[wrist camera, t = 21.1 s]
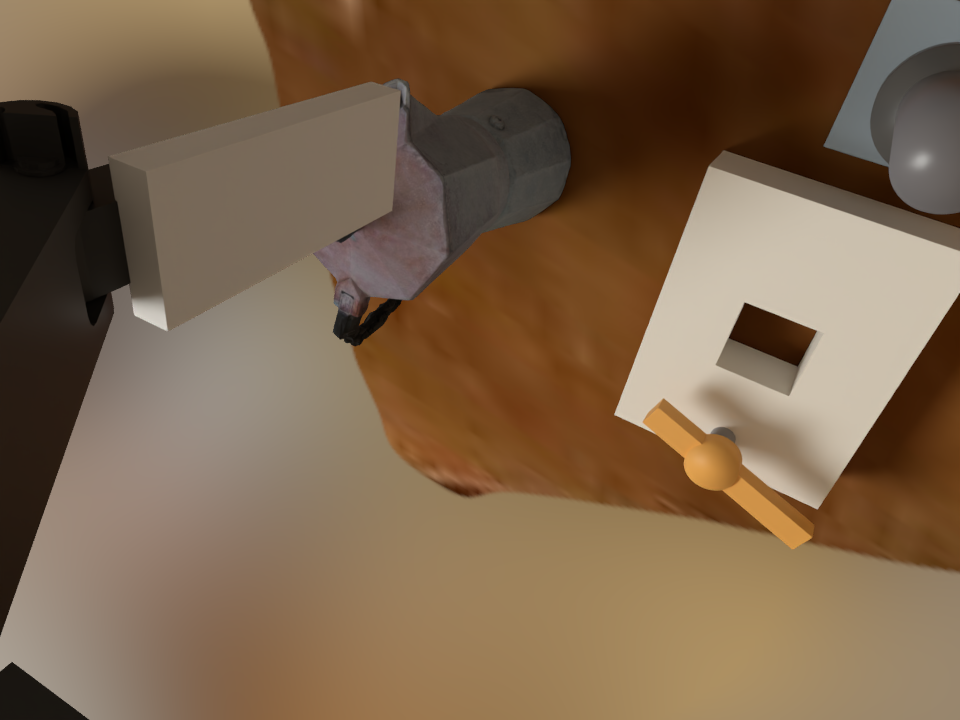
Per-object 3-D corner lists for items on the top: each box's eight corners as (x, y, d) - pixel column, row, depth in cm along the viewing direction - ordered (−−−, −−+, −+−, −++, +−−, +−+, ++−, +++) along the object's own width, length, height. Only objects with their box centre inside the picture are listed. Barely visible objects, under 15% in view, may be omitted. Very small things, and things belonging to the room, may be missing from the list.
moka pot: (610, 64, 43) (440, 126, 28) (548, 283, 52) (394, 422, 37) (473, 20, 46) (252, 56, 31) (437, 236, 55) (251, 346, 40)
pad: (898, -15, 35) (898, -14, 35) (1079, 29, 33) (1081, 30, 32) (824, 144, 40) (823, 146, 39) (978, 192, 38) (979, 195, 37)
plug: (910, 19, 35) (906, 53, 24) (1035, 51, 34) (1096, 104, 22) (856, 131, 38) (828, 210, 27) (967, 165, 37) (989, 264, 25)
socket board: (723, 150, 42) (700, 174, 38) (977, 233, 38) (985, 272, 34) (632, 387, 53) (605, 428, 48) (823, 473, 49) (814, 527, 44)
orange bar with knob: (640, 419, 46) (633, 431, 45) (671, 390, 44) (665, 401, 43) (785, 543, 45) (782, 557, 44) (824, 518, 43) (822, 533, 42)
